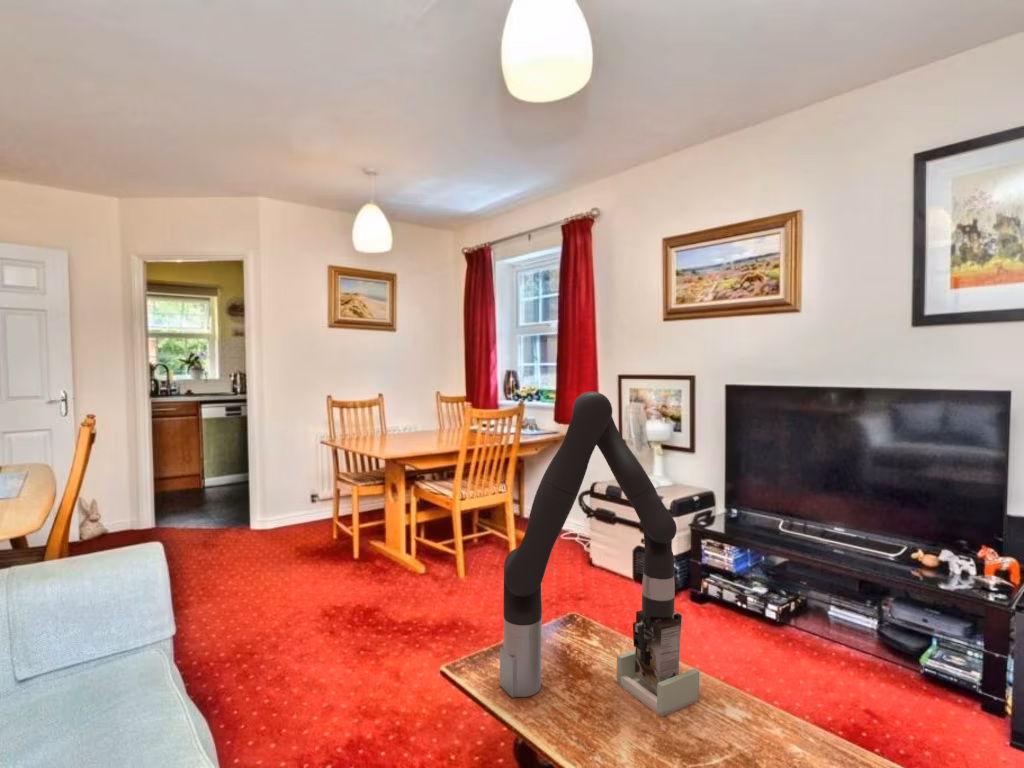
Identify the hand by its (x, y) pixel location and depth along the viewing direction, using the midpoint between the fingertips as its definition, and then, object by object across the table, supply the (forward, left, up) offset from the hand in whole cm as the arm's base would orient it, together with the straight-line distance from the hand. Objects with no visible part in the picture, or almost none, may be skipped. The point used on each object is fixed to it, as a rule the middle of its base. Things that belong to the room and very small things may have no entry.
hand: (656, 660), depth 133 cm
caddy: (0, 0, -8) cm, 8 cm away
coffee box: (0, 0, -6) cm, 6 cm away
